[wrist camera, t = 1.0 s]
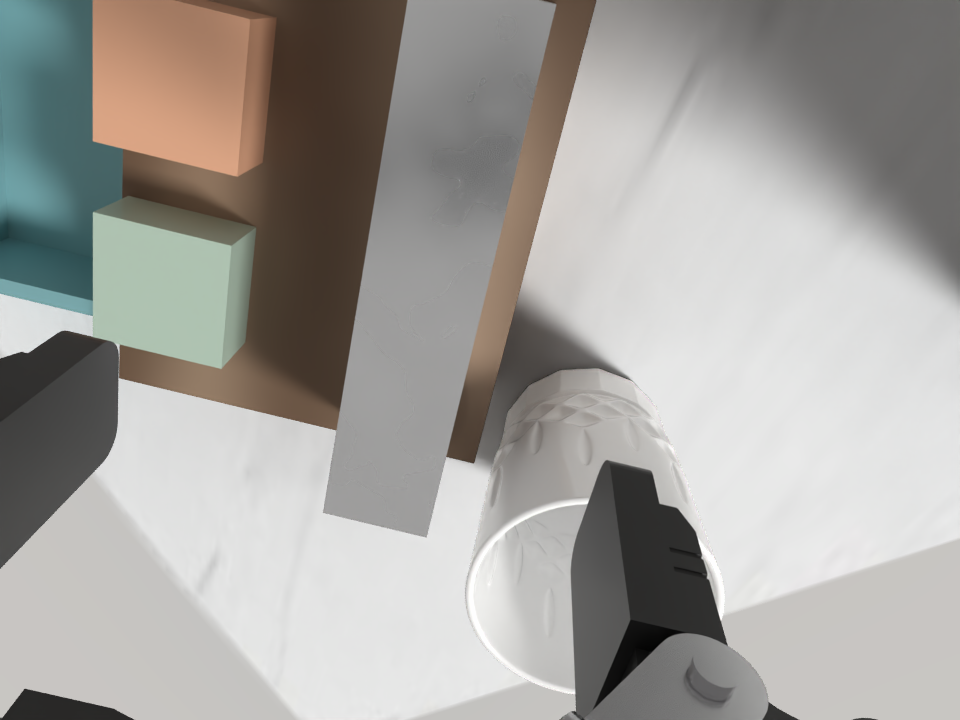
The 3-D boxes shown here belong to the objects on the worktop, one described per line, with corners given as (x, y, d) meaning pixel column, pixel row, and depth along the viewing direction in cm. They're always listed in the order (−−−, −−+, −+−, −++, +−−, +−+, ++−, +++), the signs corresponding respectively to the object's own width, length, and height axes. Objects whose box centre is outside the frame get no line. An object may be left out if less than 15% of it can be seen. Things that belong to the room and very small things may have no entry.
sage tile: (256, 226, 23) (231, 245, 22) (245, 342, 25) (221, 368, 23) (128, 195, 23) (92, 212, 22) (126, 313, 25) (92, 338, 23)
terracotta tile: (276, 17, 21) (250, 18, 19) (262, 162, 22) (237, 176, 21) (132, -19, 21) (92, -21, 19) (129, 130, 22) (92, 141, 21)
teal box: (203, -68, 25) (144, -80, 22) (183, 288, 31) (134, 325, 27) (-18, -124, 25) (-113, -145, 22) (2, 244, 31) (-70, 276, 27)
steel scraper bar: (556, 3, 20) (556, 4, 16) (448, 444, 26) (426, 537, 22) (445, -25, 20) (412, -32, 15) (363, 424, 26) (323, 512, 22)
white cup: (465, 379, 32) (430, 529, 23) (654, 331, 30) (695, 472, 21) (520, 528, 35) (508, 713, 26) (694, 492, 33) (746, 676, 24)
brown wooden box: (589, -6, 25) (598, -8, 20) (487, 384, 32) (473, 463, 26) (219, -99, 25) (127, -126, 20) (193, 313, 32) (118, 378, 26)
